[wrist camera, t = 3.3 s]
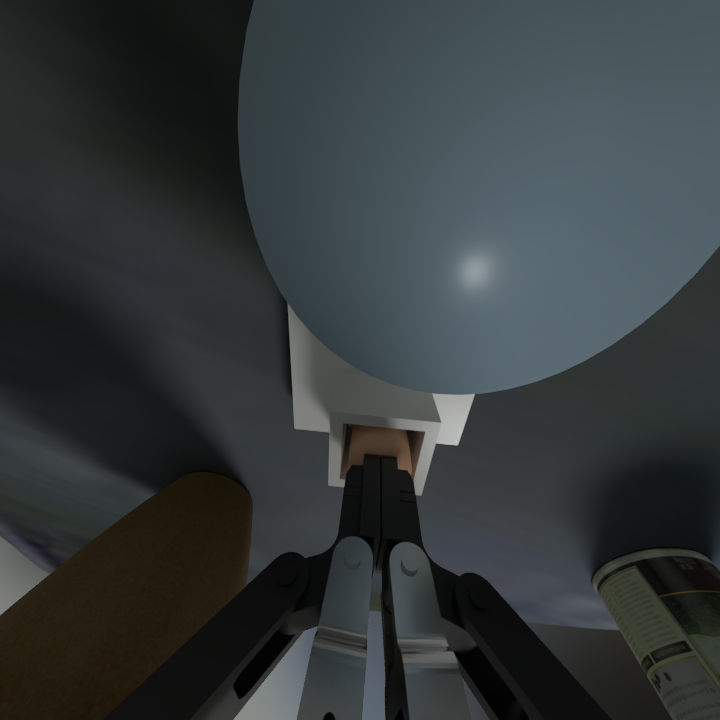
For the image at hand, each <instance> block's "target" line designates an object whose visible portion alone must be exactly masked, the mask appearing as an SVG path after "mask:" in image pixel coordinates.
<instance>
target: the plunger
mask: <svg viewBox="0 0 720 720" xmlns="http://www.w3.org/2000/svg"><path fill="white" fill-rule="evenodd" d="M364 454H374V455H380V456H381V455H385V456H394V457H397V465H398V469H400V470H408V472H409V474H410V475H411V473H412V463H411V456H410V449H409V441H408V434H407V430H404V429H395V428H385V427H375V426H365V425H355V424H353V429H352V437H351V444H350V452H349V459H348V470H349V468H350V467H351V465H361V466H363V459H364Z"/></svg>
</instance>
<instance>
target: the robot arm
mask: <svg viewBox="0 0 720 720" xmlns="http://www.w3.org/2000/svg"><path fill="white" fill-rule="evenodd" d="M375 564H376V573H381V574H382V592H381V616H382V631H383V647H384V661H385V662H384V663H385V719H386V720H471V716H470V711H469V707H468V703H467V698H466V694H465V690H464V685H463V681H462V678H463V679H464V681H465V682H466V684H467V685H468V687H469V688H470V690H471V691H472V693H473V694H474V696H475V697H476V699H477V700H478V702H479V703H480V705H481V706H482V708H483V709H484V711H485V713H486V714H487V716H488V717H489V719H490V720H612V719H611V718H610V717H609V716H608V715H607V714H606V713H605V711H604V710H603V709H602V708H601V707H600V706H599V705H598V704H597V703H596V701H595V700H594V699H593V698H592V697H591V696H590V695H589V694H588V692H586V690H585V689H584V688H583V687H582V686H581V685H580V684H579V682H578V681H577V680H576V679H575V678H574V677H573V676H572V675H571V673H570V672H569V671H568V670H567V669H566V668H565V667H564V666H563V665H562V663H561V662H560V661H559V660H558V659H557V658H556V657H555V656H554V655H553V653H552V652H551V651H550V650H549V649H548V648H547V647H546V646H545V644H544V643H543V642H542V641H541V640H540V639H539V638H538V637H537V636H536V635H535V633H534V632H533V631H532V630H531V629H530V628H529V627H528V626H527V624H526V623H525V622H524V621H523V620H522V619H521V618H520V617H519V615H518V614H517V613H516V612H515V611H514V610H513V609H512V608H511V607H510V605H509V604H508V603H507V602H506V601H505V600H504V599H503V598H502V597H501V595H500V594H499V593H498V592H497V591H496V590H495V589H494V588H493V586H492V585H491V584H490V583H489V582H488V581H487V580H485V579H484V578H483V577H481V576H480V575H477V574H475V573H464V574H462V575H461V576H458V575H456V574H454V573H452V572H450V571H448V570H446V569H444V568H442V567H440V566H438V565H437V564H436V563H434V562H433V561H432V560H431V558H430V557H429V556H428V554H427V553H426V551H425V549H424V546H423V543H422V537H421V530H420V523H419V516H418V509H417V504H416V495H415V487H414V481H413V479H412V477H411V475H410V474H409V472H408V470H400V469H398V465H397V457H394V456H385V455H381V456H380V455H374V454H364V459H363V466H361V465H351V467H350V468H349V470H348V472H347V473H346V478H345V486H344V494H343V501H342V509H341V517H340V524H339V532H338V536H337V539H336V541H335V543H334V544H333V545H332V546H331V547H330V549H328V550H327V551H325V552H324V553H321V554H319V555H315V556H312V557H308V558H304V557H303V556H302V555H300V554H298V553H295V552H288V553H284V554H282V555H280V556H278V557H277V558H276V559H275V560H274V561H273V562H272V563H270V564H269V565H268V566H267V567H266V568H265V569H264V570H263V571H262V572H261V573H260V574H259V575H258V576H257V577H255V578H254V579H253V580H252V581H251V582H250V583H249V584H248V585H247V586H246V587H245V588H244V589H243V590H241V591H240V592H239V593H238V594H237V595H236V596H235V597H234V598H233V599H232V600H231V601H230V602H229V603H228V604H226V605H225V606H224V607H223V608H222V609H221V610H220V611H219V612H218V613H217V614H216V615H215V616H214V617H212V618H211V619H210V620H209V621H208V622H207V623H206V624H205V625H204V626H203V627H202V628H201V629H200V630H199V631H197V632H196V633H195V634H194V635H193V636H192V637H191V638H190V639H189V640H188V641H187V642H186V643H185V644H183V645H182V646H181V647H180V648H179V649H178V650H177V651H176V652H175V653H174V654H173V655H172V656H171V657H170V658H168V659H167V660H166V661H165V662H164V663H163V664H162V665H161V666H160V667H159V668H158V669H157V670H156V671H154V672H153V673H152V674H151V675H150V676H149V677H148V678H147V679H146V680H145V681H144V682H143V683H142V684H141V685H139V686H138V687H137V688H136V689H135V690H134V691H133V692H132V693H131V694H130V695H129V696H128V697H127V698H125V699H124V700H123V701H122V702H121V703H120V704H119V705H118V706H117V707H116V708H115V709H114V710H113V711H112V712H110V713H109V714H108V715H107V716H106V717H105V718H104V719H103V720H233V719H234V718H235V717H236V715H237V714H238V713H239V712H240V710H241V709H242V708H243V706H244V705H245V704H246V703H247V702H248V700H249V699H250V698H251V697H252V695H253V694H254V693H255V692H256V690H257V689H258V688H259V686H260V685H261V684H262V683H263V682H264V680H265V679H266V678H267V676H268V675H269V674H270V673H271V672H272V670H273V669H274V668H275V667H276V665H277V664H278V663H279V661H280V660H281V659H282V658H283V657H284V655H285V654H286V653H287V651H288V650H289V649H290V648H291V647H292V645H293V644H294V643H295V641H296V640H297V639H298V638H299V637H300V635H301V634H302V633H303V631H305V630H308V629H310V628H313V627H316V626H318V629H317V632H316V634H315V637H314V641H313V646H312V650H311V654H310V660H309V664H308V669H307V674H306V678H305V683H304V688H303V692H302V697H301V702H300V707H299V712H298V716H297V720H362V709H363V696H364V683H365V670H366V656H367V629H368V617H369V605H370V593H371V581H372V576H373V573H374V569H375ZM461 676H462V677H461Z"/></svg>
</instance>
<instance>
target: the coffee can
mask: <svg viewBox="0 0 720 720" xmlns="http://www.w3.org/2000/svg"><path fill="white" fill-rule="evenodd" d="M592 584H593V587H594V589H595V591H596V592H597V593H598V594H599V596H600V598H601V599H602V601H603V602H604V604H605V606H606V608H607V609H608V611H609V613H610V614H611V616H612V618H613V619H614V621H615V623H616V624H617V626H618V628H619V629H620V631H621V633H622V634H623V636H624V638H625V639H626V641H627V643H628V645H629V646H630V648H631V650H632V651H633V653H634V655H635V656H636V658H637V660H638V661H639V663H640V665H641V666H642V668H643V670H644V671H645V673H646V675H647V677H648V679H649V680H650V682H651V683H652V685H653V687H654V689H655V690H656V692H657V694H658V695H659V697H660V698H661V700H662V702H663V704H664V706H665V707H666V709H667V711H668V712H669V714H670V716H671V717H672V719H673V720H720V571H719V570H718V569H717V568H716V567H715V565H714V564H713V562H712V561H711V560H710V559H709V558H707V557H706V556H704V555H702V554H700V553H698V552H695V551H692V550H687V549H680V548H654V549H647V550H641V551H636V552H632V553H629V554H626V555H623V556H620V557H618V558H616V559H613V560H611V561H610V562H608V563H606V564H605V565H604V566H602V567H601V568H600V569H599V570H598V571H597V572H596V573H595V574H594V577H593V580H592Z"/></svg>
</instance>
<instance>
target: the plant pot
mask: <svg viewBox="0 0 720 720" xmlns="http://www.w3.org/2000/svg"><path fill="white" fill-rule="evenodd" d="M252 513H253V503H252V499H251V497H250V495H249V494H248V492H247V491H246V490H245V489H244V488H243V487H242V486H241V485H239V484H238V483H237V482H235V481H234V480H232V479H230V478H228V477H226V476H223V475H220V474H216V473H211V472H193V473H189V474H186V475H184V476H182V477H180V478H179V479H177V480H176V481H174V482H173V483H171V484H170V485H168V486H167V487H165V488H164V489H162V490H161V491H159V492H158V493H156V494H155V495H154V496H152V497H151V498H149V499H148V500H146V501H145V502H143V503H142V504H141V505H139V506H138V507H137V508H135V509H134V510H132V511H131V512H130V513H128V514H127V515H125V516H124V517H123V518H121V519H120V520H119V521H117V522H116V523H115V524H113V525H112V526H111V527H109V528H108V529H107V530H105V531H104V532H103V533H101V534H100V535H99V536H98V537H96V538H95V539H94V540H92V541H91V542H90V543H89V544H87V545H86V546H85V547H83V548H82V549H81V550H80V551H78V552H77V553H76V554H75V555H73V556H72V557H71V558H70V559H68V560H67V561H66V562H65V563H63V564H62V565H61V566H60V567H58V568H57V569H56V570H55V571H53V572H52V573H51V574H50V575H49V576H47V577H46V578H45V579H44V580H42V581H41V582H40V583H39V584H38V585H36V586H35V587H34V588H33V589H31V590H30V591H29V592H28V593H27V594H26V595H24V596H23V597H22V598H21V599H19V600H18V601H17V602H16V603H15V604H13V605H12V606H11V607H10V608H9V609H8V610H6V611H5V612H4V613H3V614H1V615H0V720H103V719H104V718H105V717H106V716H107V715H108V714H109V713H110V712H112V711H113V710H114V709H115V708H116V707H117V706H118V705H119V704H120V703H121V702H122V701H123V700H124V699H125V698H127V697H128V696H129V695H130V694H131V693H132V692H133V691H134V690H135V689H136V688H137V687H138V686H139V685H141V684H142V683H143V682H144V681H145V680H146V679H147V678H148V677H149V676H150V675H151V674H152V673H153V672H154V671H156V670H157V669H158V668H159V667H160V666H161V665H162V664H163V663H164V662H165V661H166V660H167V659H168V658H170V657H171V656H172V655H173V654H174V653H175V652H176V651H177V650H178V649H179V648H180V647H181V646H182V645H183V644H185V643H186V642H187V641H188V640H189V639H190V638H191V637H192V636H193V635H194V634H195V633H196V632H197V631H199V630H200V629H201V628H202V627H203V626H204V625H205V624H206V623H207V622H208V621H209V620H210V619H211V618H212V617H214V616H215V615H216V614H217V613H218V612H219V611H220V610H221V609H222V608H223V607H224V606H225V605H226V604H228V603H229V602H230V601H231V600H232V599H233V598H234V597H235V596H236V595H237V594H238V593H239V592H240V591H241V590H243V589H244V588H245V587H246V582H247V573H248V565H249V555H250V544H251V530H252Z"/></svg>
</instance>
